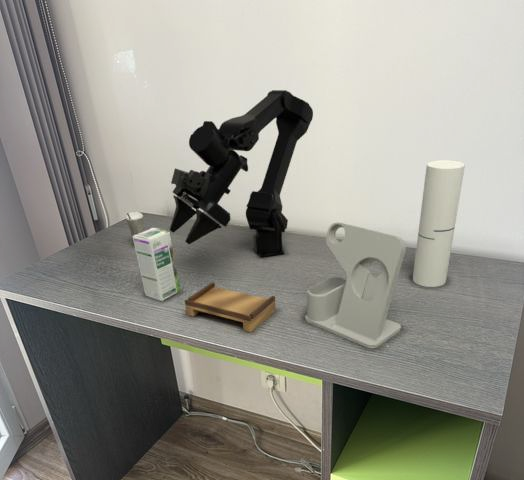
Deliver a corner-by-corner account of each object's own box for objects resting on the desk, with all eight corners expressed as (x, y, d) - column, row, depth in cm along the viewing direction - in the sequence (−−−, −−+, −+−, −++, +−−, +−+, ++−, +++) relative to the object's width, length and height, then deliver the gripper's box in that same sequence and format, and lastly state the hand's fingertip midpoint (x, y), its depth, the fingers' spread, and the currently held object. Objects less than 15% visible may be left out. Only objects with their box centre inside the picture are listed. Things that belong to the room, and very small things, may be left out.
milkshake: (127, 248, 138) (119, 212, 133) (136, 241, 142) (130, 206, 137) (141, 249, 137) (134, 213, 131) (151, 242, 141) (144, 207, 136)
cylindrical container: (447, 287, 108) (467, 168, 94) (413, 286, 109) (428, 168, 95) (444, 273, 113) (462, 160, 100) (411, 272, 115) (425, 160, 101)
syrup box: (162, 302, 109) (150, 239, 101) (144, 295, 112) (131, 234, 104) (180, 292, 113) (170, 230, 105) (162, 286, 116) (151, 226, 108)
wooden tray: (275, 311, 103) (275, 296, 101) (251, 332, 96) (249, 317, 94) (213, 296, 110) (212, 282, 108) (186, 315, 103) (184, 300, 102)
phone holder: (300, 319, 99) (299, 232, 90) (332, 301, 105) (334, 218, 95) (373, 350, 89) (380, 255, 79) (404, 328, 94) (414, 237, 85)
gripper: (174, 146, 108) (135, 206, 110) (210, 160, 94) (165, 228, 96) (211, 177, 115) (174, 232, 117) (249, 194, 102) (206, 257, 103)
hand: (179, 237), depth 108 cm, fingers open, 9 cm apart
